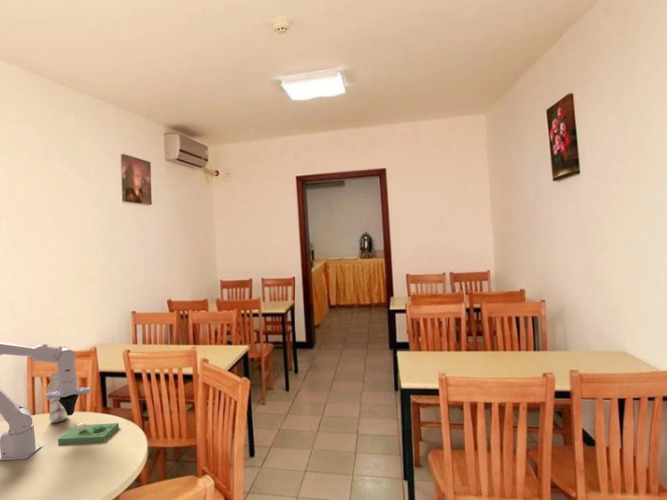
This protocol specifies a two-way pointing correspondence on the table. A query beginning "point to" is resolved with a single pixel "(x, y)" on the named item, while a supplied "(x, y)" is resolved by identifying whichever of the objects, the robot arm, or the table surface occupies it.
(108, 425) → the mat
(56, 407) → the plastic bottle
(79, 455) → the table surface
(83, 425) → the ball
